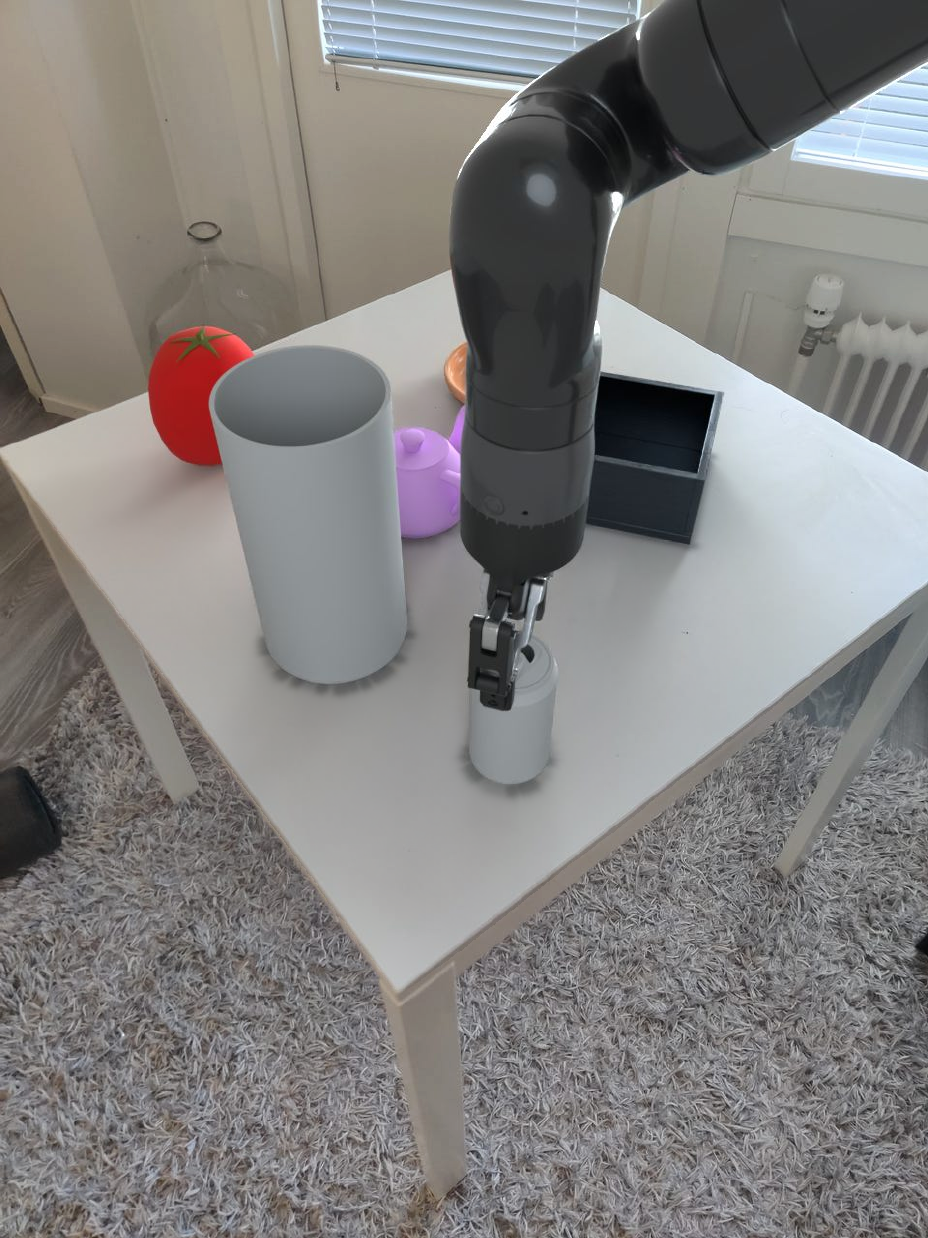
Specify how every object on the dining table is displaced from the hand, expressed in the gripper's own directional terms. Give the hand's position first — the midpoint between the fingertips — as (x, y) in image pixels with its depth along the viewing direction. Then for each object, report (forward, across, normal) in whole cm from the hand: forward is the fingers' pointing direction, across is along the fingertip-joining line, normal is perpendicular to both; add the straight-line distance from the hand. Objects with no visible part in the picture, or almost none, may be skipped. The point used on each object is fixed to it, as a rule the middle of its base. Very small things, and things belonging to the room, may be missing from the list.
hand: (513, 658), depth 66 cm
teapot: (+12, +26, +17) cm, 33 cm away
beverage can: (+12, 0, 0) cm, 12 cm away
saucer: (+12, +49, +13) cm, 52 cm away
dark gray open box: (+12, +36, -3) cm, 38 cm away
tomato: (+12, +29, +40) cm, 51 cm away
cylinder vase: (+12, +8, +18) cm, 23 cm away
